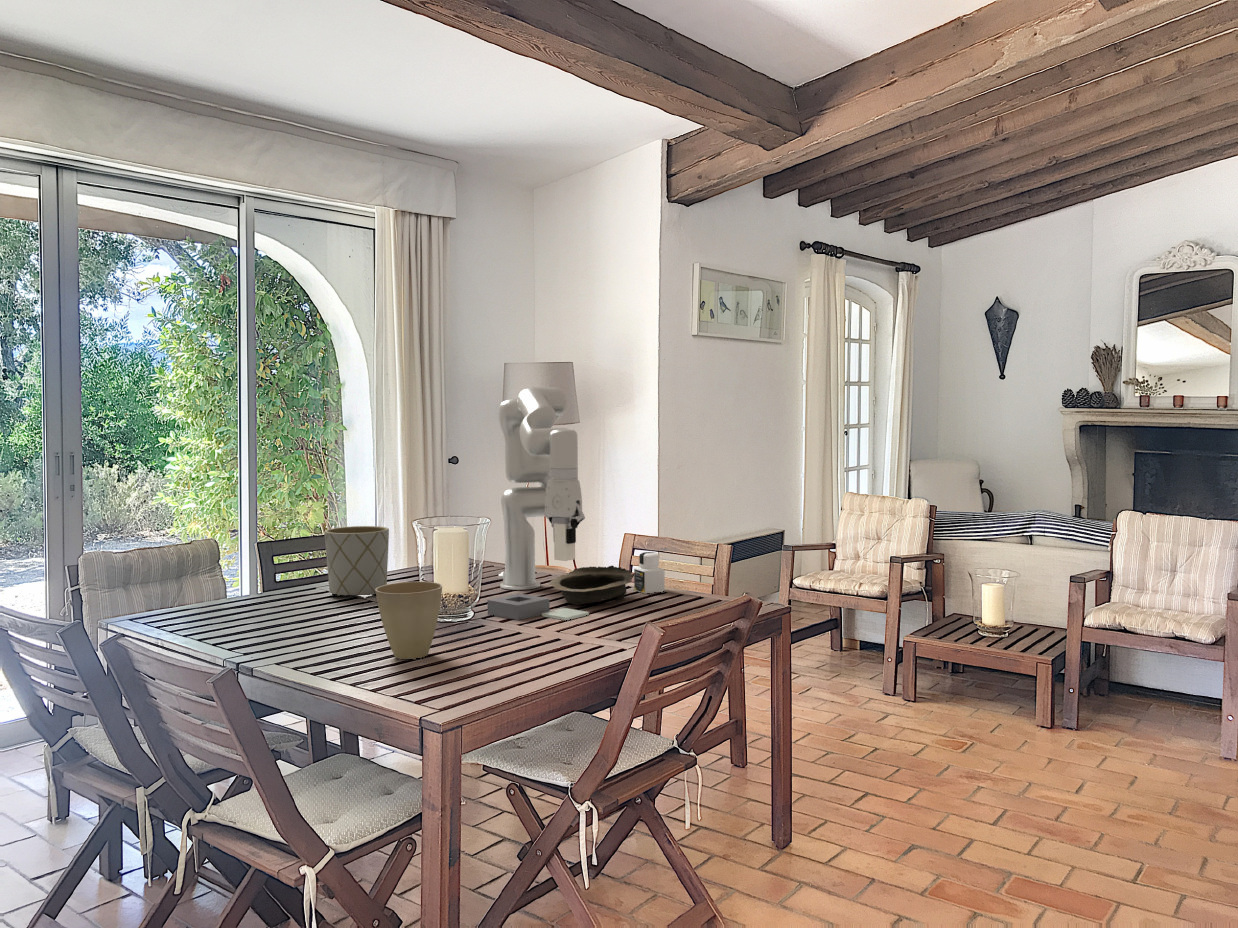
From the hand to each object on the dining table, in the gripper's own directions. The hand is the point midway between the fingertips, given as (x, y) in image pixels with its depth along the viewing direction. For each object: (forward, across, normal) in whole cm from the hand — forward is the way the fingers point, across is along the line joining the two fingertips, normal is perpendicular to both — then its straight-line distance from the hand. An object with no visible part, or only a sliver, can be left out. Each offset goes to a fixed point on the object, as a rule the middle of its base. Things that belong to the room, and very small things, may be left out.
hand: (564, 541), depth 262 cm
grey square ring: (+20, -12, -6) cm, 24 cm away
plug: (+5, 0, 0) cm, 5 cm away
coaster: (+20, 0, 0) cm, 20 cm away
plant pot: (+20, +2, -54) cm, 58 cm away
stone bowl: (+21, -7, +19) cm, 29 cm away
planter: (+20, -72, -16) cm, 77 cm away
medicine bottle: (+20, -4, +42) cm, 47 cm away
